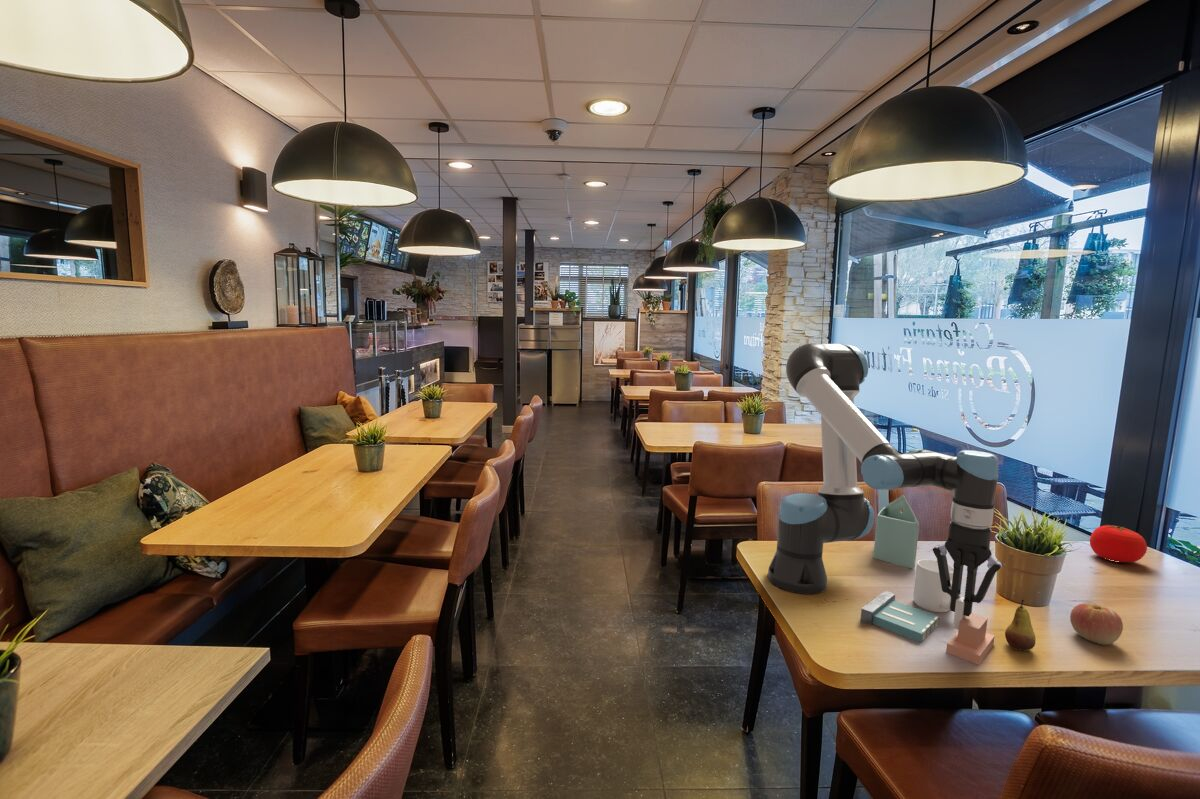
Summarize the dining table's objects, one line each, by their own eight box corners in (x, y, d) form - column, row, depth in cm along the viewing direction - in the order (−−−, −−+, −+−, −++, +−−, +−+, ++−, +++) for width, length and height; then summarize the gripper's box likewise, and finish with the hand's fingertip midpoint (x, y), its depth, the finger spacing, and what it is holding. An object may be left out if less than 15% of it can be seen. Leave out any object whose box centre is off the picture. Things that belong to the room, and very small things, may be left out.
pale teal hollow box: (858, 547, 179) (864, 487, 177) (881, 547, 180) (887, 487, 178) (889, 569, 163) (896, 503, 161) (915, 569, 164) (922, 503, 162)
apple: (1106, 653, 122) (1111, 619, 121) (1059, 633, 130) (1064, 600, 129) (1128, 646, 126) (1133, 612, 125) (1081, 626, 134) (1086, 594, 133)
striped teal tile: (861, 619, 133) (861, 610, 133) (880, 603, 142) (881, 595, 141) (921, 642, 124) (922, 633, 124) (938, 624, 132) (939, 615, 132)
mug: (969, 621, 134) (974, 580, 133) (935, 621, 134) (940, 579, 133) (936, 597, 146) (941, 559, 145) (906, 597, 146) (910, 559, 145)
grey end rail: (860, 621, 132) (861, 608, 132) (883, 602, 142) (885, 590, 142) (870, 625, 131) (872, 612, 130) (894, 606, 140) (895, 594, 140)
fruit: (1042, 655, 121) (1049, 602, 119) (1016, 655, 120) (1024, 602, 119) (1020, 641, 126) (1027, 590, 125) (996, 641, 126) (1003, 590, 124)
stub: (946, 652, 121) (949, 623, 120) (962, 633, 129) (965, 606, 128) (978, 664, 116) (982, 635, 115) (993, 644, 124) (997, 616, 124)
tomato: (1090, 549, 185) (1095, 517, 183) (1145, 562, 175) (1151, 528, 174) (1084, 558, 177) (1089, 524, 175) (1142, 572, 167) (1147, 536, 166)
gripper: (931, 518, 123) (920, 621, 126) (1002, 535, 114) (989, 645, 116) (942, 512, 128) (931, 610, 131) (1011, 528, 119) (998, 633, 122)
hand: (958, 627), depth 124 cm, fingers closed
